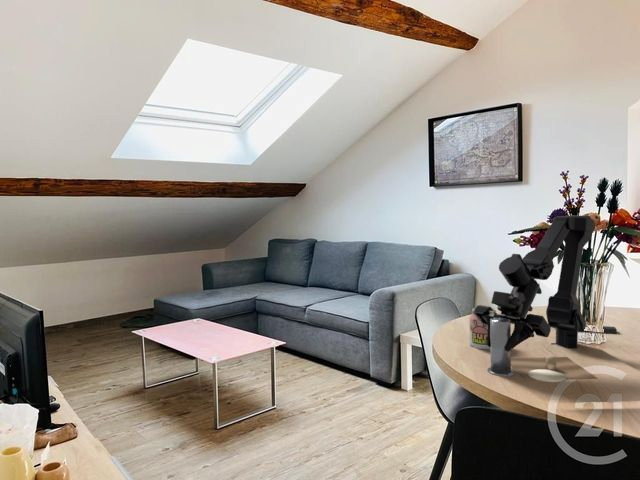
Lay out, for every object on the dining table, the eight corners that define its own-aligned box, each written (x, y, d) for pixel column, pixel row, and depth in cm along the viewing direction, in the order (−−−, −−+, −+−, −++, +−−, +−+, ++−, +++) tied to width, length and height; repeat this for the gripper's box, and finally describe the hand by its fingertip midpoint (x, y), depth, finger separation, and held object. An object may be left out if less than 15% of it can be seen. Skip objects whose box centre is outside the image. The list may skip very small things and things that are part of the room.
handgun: (548, 315, 174) (550, 324, 163) (610, 319, 167) (617, 328, 156) (548, 322, 174) (550, 331, 163) (610, 326, 167) (617, 335, 156)
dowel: (544, 367, 126) (544, 355, 126) (553, 367, 126) (553, 355, 125) (548, 370, 123) (548, 358, 123) (557, 370, 123) (558, 358, 123)
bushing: (484, 370, 127) (483, 317, 126) (509, 369, 127) (508, 316, 126) (491, 379, 121) (491, 323, 120) (518, 378, 121) (517, 322, 119)
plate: (503, 362, 134) (503, 358, 134) (566, 361, 133) (566, 356, 133) (528, 387, 116) (528, 382, 116) (601, 386, 116) (601, 380, 115)
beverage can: (505, 347, 147) (505, 307, 146) (498, 355, 140) (498, 314, 139) (474, 343, 152) (473, 305, 151) (466, 351, 145) (465, 310, 144)
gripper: (477, 275, 132) (451, 323, 126) (544, 283, 117) (519, 338, 111) (494, 299, 137) (470, 346, 131) (561, 310, 122) (537, 363, 117)
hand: (497, 348), depth 123 cm, fingers closed on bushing, 5 cm apart
